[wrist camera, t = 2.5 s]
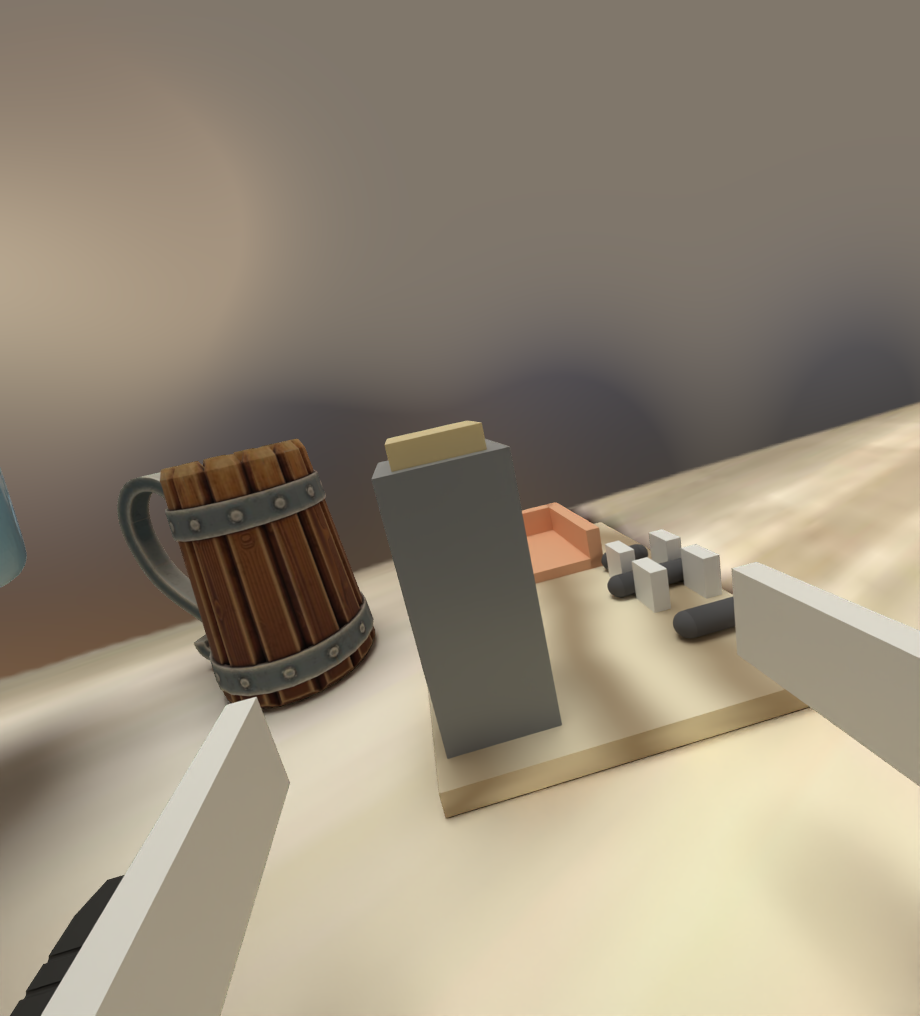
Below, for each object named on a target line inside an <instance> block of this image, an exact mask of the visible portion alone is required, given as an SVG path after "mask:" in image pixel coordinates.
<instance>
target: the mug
mask: <svg viewBox="0 0 920 1016" xmlns="http://www.w3.org/2000/svg"><path fill="white" fill-rule="evenodd" d="M152 493H156V494H158V495H160V496H162V497H163V498H164V499H165V500H166V502H167V506H168V509H166V510H165V512H166V516H167V519H168V522H169V526H170V529H171V532H172V535H173V539H174V540H175V541H178V542H179V546H180V549H181V552H182V556H183V559H184V562H185V566H186V569H187V572H188V575H189V579H188V578H187V577H186V576H185V575H184V574H183V573H182V572H181V571H180V570H179V569H178V568H177V567H176V566H175V565H174V563H173V562H172V561H171V559H170V558H169V556H168V555H167V553H166V552H165V550H164V548H163V546H162V545H161V543H160V541H159V539H158V538H157V535H156V534H155V531H154V529H153V526H152V523H151V520H150V514H149V501H150V497H151V494H152ZM325 497H326V494H325V492H324V489H323V487H322V484H321V481H320V479H319V476H318V473H317V471H315V470H313V468H312V465H311V463H310V460H309V457H308V455H307V452H306V449H305V447H304V445H303V444H302V443H301V442H300V441H299V440H298V439H293V440H289V441H284V442H281V443H275V444H270V445H266V446H261V447H260V448H257V449H255V448H252V449H248V450H243V451H239V452H235V453H234V454H231V455H221V456H217V457H213V458H208V459H204V461H203V465H201V464H200V463H199V462H198V461H195V462H191V463H187V464H183V465H179V466H174V467H170V468H166V469H162V470H161V473H156V474H152V475H148V476H143V477H139V478H136V479H132V480H130V481H129V482H127V483H126V484H125V485H124V486H123V488H122V489H121V491H120V494H119V498H118V508H117V509H118V519H119V524H120V527H121V531H122V534H123V536H124V538H125V541H126V543H127V545H128V547H129V549H130V550H131V552H132V554H133V555H134V557H135V559H136V561H137V563H138V564H139V566H140V567H141V568H142V570H143V572H144V573H145V575H146V576H147V577H148V578H149V579H150V581H151V582H152V583H153V584H154V585H155V586H156V587H157V588H158V589H159V590H160V591H161V592H162V593H163V594H164V595H166V596H167V597H168V598H169V599H170V600H172V601H173V602H174V603H175V604H177V605H178V606H180V607H181V608H182V609H184V610H185V611H187V612H188V613H190V614H191V615H193V616H194V617H196V618H197V619H198V620H200V621H201V622H202V623H203V626H204V629H205V632H206V634H205V635H204V636H203V637H201V638H200V639H199V640H197V641H196V642H194V645H195V647H196V649H197V650H198V651H199V653H200V654H201V655H202V656H204V657H205V658H206V659H208V660H211V664H212V667H213V670H214V674H215V677H216V680H217V683H218V685H219V687H220V689H221V690H223V692H224V695H225V696H226V698H227V699H228V700H229V701H231V702H232V703H235V702H239V701H242V700H246V699H250V698H254V697H257V699H258V702H259V704H260V707H261V708H269V707H277V706H283V705H286V704H289V703H293V702H296V701H300V700H302V699H305V698H307V697H309V696H312V695H314V694H316V693H318V692H321V691H323V690H324V689H326V688H328V687H329V686H331V685H333V684H334V683H336V682H338V681H339V680H341V679H342V678H343V677H344V676H346V675H347V674H348V673H349V672H351V671H352V670H353V669H354V668H355V667H356V666H357V665H358V664H359V663H360V662H361V660H362V659H363V658H364V657H365V655H366V653H367V652H368V650H369V648H370V647H371V645H372V643H373V639H374V637H375V629H374V627H373V617H372V614H371V611H370V609H369V606H368V604H367V601H366V598H365V597H364V595H363V593H362V592H361V591H360V590H359V587H358V585H357V582H356V580H355V577H354V574H353V572H352V569H351V567H350V564H349V562H348V559H347V556H346V554H345V551H344V549H343V546H342V543H341V541H340V538H339V535H338V533H337V530H336V528H335V525H334V522H333V520H332V517H331V515H330V512H329V510H328V507H327V504H326V501H325V499H324V498H325Z"/></svg>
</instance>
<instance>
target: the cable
mask: <svg viewBox="0 0 920 1016" xmlns="http://www.w3.org/2000/svg"><path fill="white" fill-rule="evenodd" d="M629 547H631V548H632V549H634V553H635V560H638V559H642V558H646V557H648V550H647V549H646V547H644V546H643V545H641V544H634V545H630V546H629ZM601 562H602V565H603V566H604V567H605V568H606V569H608V562H607V555H606V553H604V554H603V556H602V559H601ZM659 564H660V565H661V566H663V567H665V568H666V569H667V575H668V584H673V583H676V582H680V581H684V577H683V567H682V558H678V559H674V560H670V561H667V562H663V563H659ZM607 587H608V590H609V592H610V593H611V594H612V595H613V596H615V597H625V596H629V595H632V594H636V592H635V584H634V576H633V571H629V572H626V573H622V574H618V575H615V576H612V577H611V578H610V579H609V581H608V583H607ZM673 627H674V629H675V631H676V632H677V633H678V634H679V635H680V636H682V637H684V638H690V639H692V638H696V637H700V636H703V635H707V634H710V633H714V632H717V631H721V630H724V629H728V628H731V627H735V613H734V598H733V597H729V598H726V599H722V600H718V601H715V602H711V603H708V604H704V605H700V606H697V607H693V608H690V609H686V610H683V611H680V612H678V613H677V614H676V615H675V616H674V618H673Z"/></svg>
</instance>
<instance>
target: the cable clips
mask: <svg viewBox="0 0 920 1016" xmlns="http://www.w3.org/2000/svg"><path fill="white" fill-rule="evenodd" d="M649 540H650V549H651V558H652V560H651V559H649V558H648V557H646V558H642V559H638V560H635V553H634V549H632V548H631V547H629V546H627V545H626V544H624V543H622V542H620V541H619V540H618V541H615V542H611V543H607V544H605V548H606V555H607V562H608V570H609V577H610V578H611V577H612V576H615V575H618V574H622V573H626V572H629V571H633V576H634V584H635V592H636V599H638V600H639V601H640V602H642V603H643V604H644V605H645V606H647V607H648V608H649V609H650V610H652V611H653V612H654V613H657V612H660V611H664V610H668V609H671V603H670V594H669V584H668V575H667V569H666V568H665V567H663V566H661V565H660V564H659V563H663V562H667V561H670V560H674V559H678V558H682V567H683V577H684V585H685V586H686V587H688V588H690V589H691V590H693V591H694V592H696V593H698V594H699V595H701V596H703V597H704V598H706V599H707V598H711V597H714V596H718V595H722V585H721V571H720V557H719V554H717V553H714V552H712V551H710V550H708V549H706V548H703V547H701V546H699V545H697V544H695V545H691V546H687V547H683V548H681V538H680V537H679V536H676V535H674V534H672V533H670V532H667V531H665V530H663V529H661V530H657V531H653V532H649Z"/></svg>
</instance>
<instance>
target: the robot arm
mask: <svg viewBox="0 0 920 1016" xmlns="http://www.w3.org/2000/svg"><path fill="white" fill-rule="evenodd" d="M26 556H27V555H26V549H25V545H24V541H23V537H22V534H21V530H20V527H19V524H18V521H17V517H16V514H15V511H14V508H13V505H12V502H11V499H10V496H9V492H8V489H7V486H6V483H5V480H4V477H3V474H2V471H1V468H0V587H2V586H4V585H6V584H8V583H9V582H11V580H13V579H14V578H15V577H16V576H18V575H19V574H20V572H21V571H22V569H23V567H24V566H25V563H26ZM732 583H733V598H734V613H735V628H736V643H737V655H739V656H740V657H742V658H743V659H744V660H746V661H747V662H748V663H750V664H751V665H753V666H754V667H755V668H757V669H758V670H760V671H761V672H762V673H764V674H765V675H766V676H768V677H769V678H771V679H772V680H773V681H775V682H776V683H777V684H779V685H780V686H782V687H783V688H784V689H786V690H787V691H789V692H790V693H791V694H793V695H794V696H795V697H797V698H798V699H800V700H801V701H802V702H804V703H805V704H806V705H808V706H809V707H811V708H812V709H813V710H815V711H816V712H818V713H819V714H820V715H822V716H823V717H824V718H826V719H827V720H829V721H830V722H831V723H833V724H834V725H835V726H837V727H838V728H840V729H841V730H842V731H844V732H845V733H847V734H848V735H849V736H851V737H852V738H853V739H855V740H856V741H858V742H859V743H860V744H862V745H863V746H865V747H866V748H867V749H869V750H870V751H871V752H873V753H874V754H876V755H877V756H878V757H880V758H881V759H882V760H884V761H885V762H887V763H888V764H889V765H891V766H892V767H894V768H895V769H896V770H898V771H899V772H900V773H902V774H903V775H905V776H906V777H907V778H909V779H910V780H911V781H913V782H914V783H916V784H917V785H918V786H920V631H919V630H917V629H914V628H912V627H910V626H907V625H905V624H903V623H900V622H898V621H896V620H893V619H891V618H888V617H886V616H884V615H881V614H879V613H877V612H874V611H872V610H870V609H867V608H865V607H863V606H860V605H858V604H855V603H853V602H851V601H848V600H846V599H844V598H841V597H839V596H837V595H834V594H832V593H829V592H827V591H825V590H822V589H820V588H818V587H815V586H813V585H811V584H808V583H806V582H803V581H801V580H799V579H796V578H794V577H792V576H789V575H787V574H785V573H782V572H780V571H777V570H775V569H773V568H770V567H768V566H766V565H763V564H761V563H759V562H754V563H750V564H747V565H743V566H739V567H735V568H732ZM289 784H290V782H289V779H288V776H287V774H286V771H285V769H284V766H283V764H282V761H281V758H280V756H279V753H278V751H277V748H276V745H275V743H274V740H273V738H272V735H271V733H270V730H269V727H268V725H267V722H266V720H265V717H264V714H263V712H262V709H261V707H260V704H259V702H258V699H257V697H254V698H250V699H246V700H242V701H239V702H235V703H231V704H228V705H226V706H225V708H224V709H223V711H222V713H221V714H220V716H219V718H218V719H217V721H216V723H215V724H214V726H213V728H212V729H211V731H210V733H209V735H208V736H207V738H206V740H205V741H204V743H203V745H202V746H201V748H200V750H199V751H198V753H197V755H196V756H195V758H194V760H193V761H192V763H191V765H190V766H189V768H188V770H187V771H186V773H185V775H184V776H183V778H182V780H181V781H180V783H179V785H178V786H177V788H176V790H175V792H174V793H173V795H172V797H171V798H170V800H169V802H168V803H167V805H166V807H165V808H164V810H163V812H162V813H161V815H160V817H159V818H158V820H157V822H156V823H155V825H154V827H153V828H152V830H151V832H150V833H149V835H148V837H147V838H146V840H145V842H144V843H143V845H142V847H141V849H140V850H139V852H138V854H137V855H136V857H135V859H134V860H133V862H132V864H131V865H130V867H129V869H128V870H127V872H126V874H125V875H123V876H119V877H116V878H112V879H109V880H107V881H106V882H105V883H104V884H103V885H102V887H101V888H100V889H99V890H98V891H97V892H96V893H95V894H94V895H93V896H92V897H91V899H90V900H89V901H88V902H87V903H86V904H85V905H84V906H83V907H82V908H81V910H80V911H79V912H78V913H77V914H76V915H75V916H74V918H73V919H72V921H71V922H70V924H69V925H68V927H67V928H66V930H65V932H64V933H63V935H62V936H61V938H60V939H59V941H58V942H57V944H56V945H55V947H54V949H53V950H52V952H51V953H50V955H49V960H48V962H47V963H46V964H43V965H42V967H41V969H40V970H39V972H38V973H37V975H36V976H35V978H34V979H33V981H32V982H31V984H30V986H29V987H28V989H27V990H26V996H25V998H24V999H23V1000H20V1001H19V1003H18V1004H17V1006H16V1007H15V1009H14V1010H13V1012H12V1013H11V1015H10V1016H220V1015H221V1011H222V1008H223V1005H224V1001H225V998H226V995H227V991H228V988H229V985H230V981H231V978H232V975H233V971H234V968H235V965H236V961H237V958H238V955H239V951H240V948H241V945H242V941H243V938H244V935H245V931H246V928H247V925H248V921H249V918H250V915H251V911H252V908H253V905H254V901H255V898H256V895H257V891H258V888H259V885H260V881H261V878H262V875H263V871H264V868H265V865H266V861H267V858H268V855H269V851H270V848H271V845H272V841H273V838H274V834H275V831H276V828H277V824H278V821H279V818H280V814H281V811H282V808H283V804H284V801H285V798H286V794H287V791H288V788H289Z"/></svg>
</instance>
